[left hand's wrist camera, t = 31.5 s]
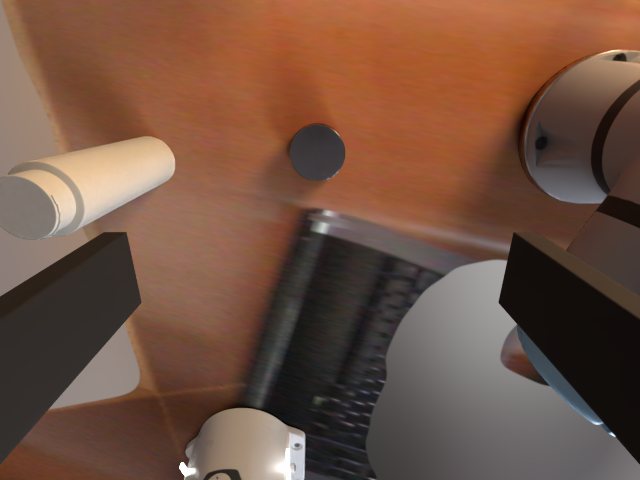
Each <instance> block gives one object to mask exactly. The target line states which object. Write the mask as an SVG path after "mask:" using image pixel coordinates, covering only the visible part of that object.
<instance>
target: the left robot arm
mask: <svg viewBox="0 0 640 480" xmlns="http://www.w3.org/2000/svg"><path fill="white" fill-rule="evenodd" d="M519 154H520V160H521V164H522V167H523V169H524V171H525V174H526V175H527V177H528V178H529V180H530V181H531V182H532V183H533V184H534V185H535V186H536V187H537V188H538V189H539V190H541V191H542V192H544V193H545V194H548V195H550V196H552V197H554V198H557V199H559V200H562V201H566V202H571V203H578V204H593V203H601V205H600V206H599V207H598V209H597V210H596V211H595V212H594V214H593V215H592V216H591V218H590V219H589V220H588V222H587V223H586V224H585V226H584V227H583V228H582V230H581V231H580V233H579V234H578V235H577V237H576V238H575V239H574V241H573V242H572V243H571V245H570V246H569V247H568V249H567V250H566V251H565V250H564V249H562V248H561V247H559V246H557V245H556V244H554V243H553V242H551V241H549V240H548V239H546V238H545V237H543V236H541V235H540V234H538V233H536V232H514V233H513V237H512V242H511V247H510V251H509V256H508V261H507V265H506V270H505V275H504V279H503V284H502V289H501V293H500V298H499V304H500V305H501V306H502V307H503V308H504V309H505V311H506V312H507V313H508V314H509V315H510V316H511V317H512V319H513V320H514V321H515V322H516V323H517V324H518V325H517V331H518V336H519V340H520V342H521V344H522V347H523V350H524V352H525V353H526V355H527V357H528V358H529V360H530V361H531V363H532V364H533V366H534V367H535V368H536V370H537V371H538V372H539V373H540V375H541V376H542V377H543V378H544V379H545V381H546V382H547V383H548V384H549V385H550V386H551V387H552V388H553V389H554V390H555V391H556V392H557V393H558V394H559V395H560V396H561V397H562V398H563V399H564V400H565V401H566V402H567V403H568V404H569V405H571V406H572V407H573V408H574V409H575V410H576V411H577V412H579V413H580V414H581V415H582V416H584V417H585V418H586V419H588V420H589V421H591V422H592V423H594V424H600V425H601V426H602V427H603V428H604V429H605V430H606V432H607V433H609V434H611V435H613V436H614V437H616V438H617V439H618V440H619V441H620V442H621V443H622V445H623V446H624V447H625V448H626V449H627V450H628V451H629V453H630V454H631V455H632V456H633V457H634V458H635V460H636V461H637V462H638V463H639V464H640V51H631V50H615V51H608V52H602V53H597V54H593V55H589V56H586V57H584V58H581V59H579V60H577V61H575V62H573V63H571V64H569V65H568V66H566V67H565V68H563V69H562V70H560V71H559V72H558V73H556V74H555V75H554V76H553V77H552V78H551V79H550V80H549V81H548V82H547V83H546V84H545V85H544V86H543V87H542V88H541V90H540V91H539V92H538V94H537V95H536V96H535V98H534V99H533V101H532V103H531V104H530V106H529V108H528V110H527V112H526V115H525V117H524V120H523V123H522V127H521V131H520V138H519ZM140 304H141V298H140V293H139V289H138V284H137V279H136V275H135V270H134V265H133V261H132V256H131V251H130V247H129V242H128V237H127V233H126V232H104V233H102V234H100V235H99V236H97V237H95V238H94V239H92V240H91V241H89V242H87V243H86V244H84V245H83V246H81V247H79V248H78V249H76V250H75V251H73V252H71V253H70V254H68V255H66V256H65V257H63V258H62V259H60V260H58V261H57V262H55V263H54V264H52V265H50V266H49V267H47V268H46V269H44V270H42V271H41V272H39V273H38V274H36V275H34V276H33V277H31V278H29V279H28V280H26V281H25V282H23V283H22V284H20V285H18V286H17V287H15V288H13V289H12V290H10V291H9V292H7V293H5V294H4V295H2V296H0V464H1V463H2V462H3V461H4V460H5V458H6V457H7V456H8V455H9V454H10V453H11V451H12V450H13V449H14V448H15V447H16V446H17V445H18V443H19V442H20V441H21V440H22V439H23V438H24V437H25V435H26V434H27V433H28V432H29V431H30V430H31V429H32V427H33V426H34V425H35V424H36V423H37V422H38V421H39V419H40V418H41V417H42V416H43V415H44V414H45V413H46V411H47V410H48V409H49V408H50V407H51V406H52V405H53V403H54V402H55V401H56V400H57V399H58V398H59V397H60V395H61V394H62V393H63V392H64V391H65V390H66V388H67V387H68V386H69V385H70V384H71V383H72V382H73V380H74V379H75V378H76V377H77V376H78V375H79V374H80V372H81V371H82V370H83V369H84V368H85V367H86V366H87V364H88V363H89V362H90V361H91V360H92V359H93V358H94V356H95V355H96V354H97V353H98V352H99V351H100V349H101V348H102V347H103V346H104V345H105V344H106V343H107V341H108V340H109V339H110V338H111V337H112V336H113V335H114V334H115V332H116V331H117V330H118V329H119V328H120V327H121V325H122V324H123V323H124V322H125V321H126V320H127V319H128V317H129V316H130V315H131V314H132V313H133V312H134V311H135V309H136V308H137V307H138V306H139V305H140Z"/></svg>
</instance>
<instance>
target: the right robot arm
mask: <svg viewBox="0 0 640 480" xmlns="http://www.w3.org/2000/svg"><path fill="white" fill-rule="evenodd" d="M185 454H186V456H187V457H188V458H189V463H188V466H187V467H186V466H185V465H184V463H181V465H180V467H179V468H180V469H181V471H182V472H183V474H184V475H185V477H184V480H304V474H305V433H304V432H303V431H301V430H299V429H296V428H293V427H290V426H287V425H285V424H284V423H282V422H281V421H280V420H278V419H277V418H276V417H274V416H272V415H270V414H268V413H266V412H263V411H260V410H256V409H250V408H234V409H228V410H224V411H221V412H219V413H217V414H215V415H213V416H212V417H210V418H209V419H208V420H207V421H206V422H205V423H204V424H203V426H202V428H201V430H200V432H199V434H198V436H197V437H196V438H194V439H193V440H192V441H190V442H189V443H188V445H187V447H186V451H185Z"/></svg>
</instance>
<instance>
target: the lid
mask: <svg viewBox="0 0 640 480" xmlns="http://www.w3.org/2000/svg"><path fill="white" fill-rule="evenodd" d="M290 159H291V163H292V165H293V167H294V169H295V170H296V171H297V172H298V173H299V174H300V175H301V176H302V177H304V178H306V179H308V180H312V181H323V180H327V179H329V178H331V177H333V176H334V175H335V174H336V173H337V172H338V171H339V170H340V169H341V167H342V165H343V163H344V159H345V147H344V143H343V141H342V139H341V137H340V135H339V134H338V133H337V131H336V130H334V129H333V128H332V127H330V126H328V125H326V124H321V123H314V124H309V125H307V126H305V127H303V128H302V129H301V130H300V131H299V132H298V133H297V134H296V135H295V137H294V139H293V140H292V143H291V146H290Z"/></svg>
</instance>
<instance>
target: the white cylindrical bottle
mask: <svg viewBox="0 0 640 480" xmlns="http://www.w3.org/2000/svg"><path fill="white" fill-rule="evenodd" d="M174 170H175V159H174V156H173V153H172V151H171V150H170V148H169V147H168V146H167V145H166V144H165V143H164V142H163V141H161V140H159V139H157V138H155V137H151V136H143V137H138V138H133V139H129V140H124V141H120V142H115V143H110V144H106V145H101V146H96V147H92V148H87V149H83V150H78V151H73V152H69V153H64V154H60V155H55V156H50V157H46V158H41V159H36V160H32V161H27V162H23V163H20V164H18V165H17V166H15V167H14V168H13V169H12V170H11V171H10V172H9V173H8V175H7V176H4V177H1V178H0V226H1V227H2V228H3V229H4V230H5V231H7V232H8V233H10V234H12V235H14V236H16V237H19V238H22V239H27V240H37V239H44V238H48V237H50V236H55V237H57V236H65V235H68V234H70V233H72V232H74V231H76V230H78V229H80V228H81V227H83V226H85V225H87V224H89V223H91V222H92V221H94V220H96V219H98V218H100V217H102V216H104V215H105V214H107V213H109V212H111V211H113V210H115V209H116V208H118V207H120V206H122V205H124V204H126V203H128V202H129V201H131V200H133V199H135V198H137V197H139V196H140V195H142V194H144V193H146V192H148V191H150V190H152V189H153V188H155V187H157V186H159V185H161V184H163V183H164V182H166V181H168V180H169V179H170V178H171V176H172V175H173V173H174Z"/></svg>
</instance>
